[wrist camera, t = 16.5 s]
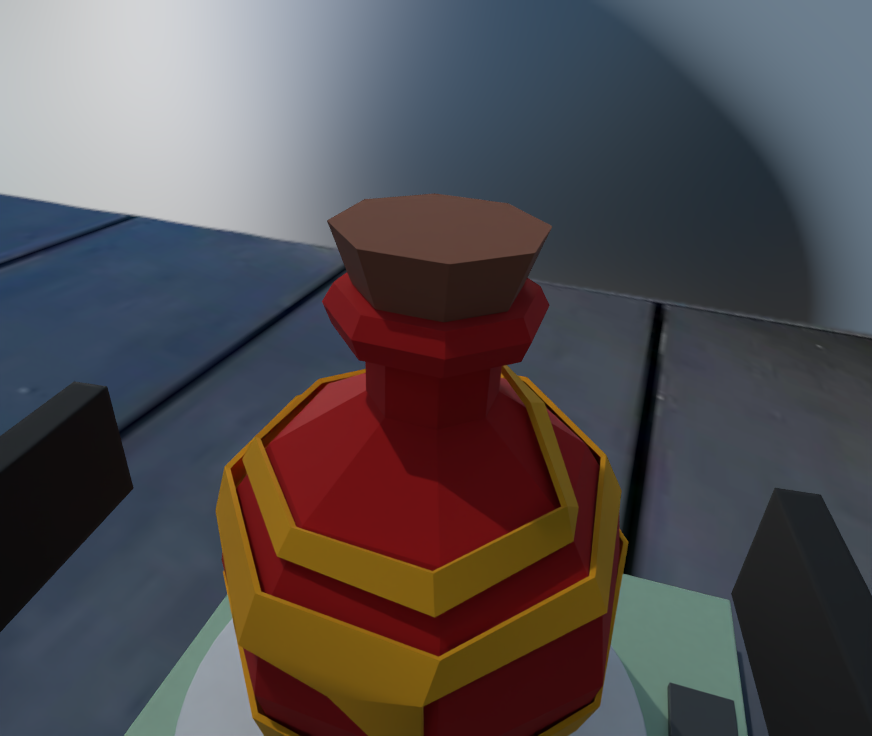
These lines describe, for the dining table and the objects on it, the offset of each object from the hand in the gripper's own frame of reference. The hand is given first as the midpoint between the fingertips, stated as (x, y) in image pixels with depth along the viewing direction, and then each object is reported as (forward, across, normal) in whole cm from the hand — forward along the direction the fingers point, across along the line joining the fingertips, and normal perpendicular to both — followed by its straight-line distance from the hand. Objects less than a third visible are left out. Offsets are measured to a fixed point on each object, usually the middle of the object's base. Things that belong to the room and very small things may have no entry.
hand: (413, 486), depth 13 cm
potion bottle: (+2, 0, -10) cm, 10 cm away
